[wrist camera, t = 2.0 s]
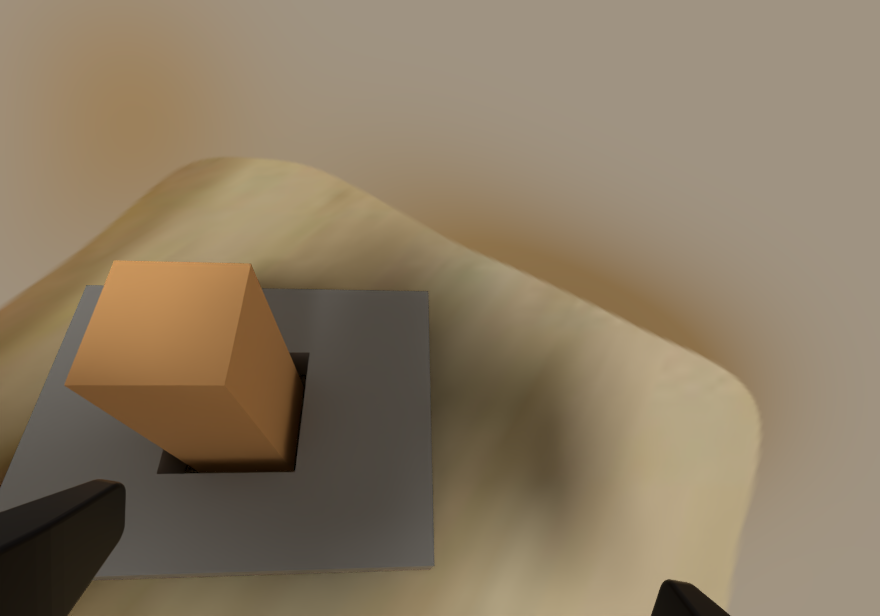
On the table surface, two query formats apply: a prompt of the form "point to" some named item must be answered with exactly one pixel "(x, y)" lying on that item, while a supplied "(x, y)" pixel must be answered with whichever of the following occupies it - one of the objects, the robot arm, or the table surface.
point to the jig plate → (267, 493)
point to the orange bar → (193, 365)
